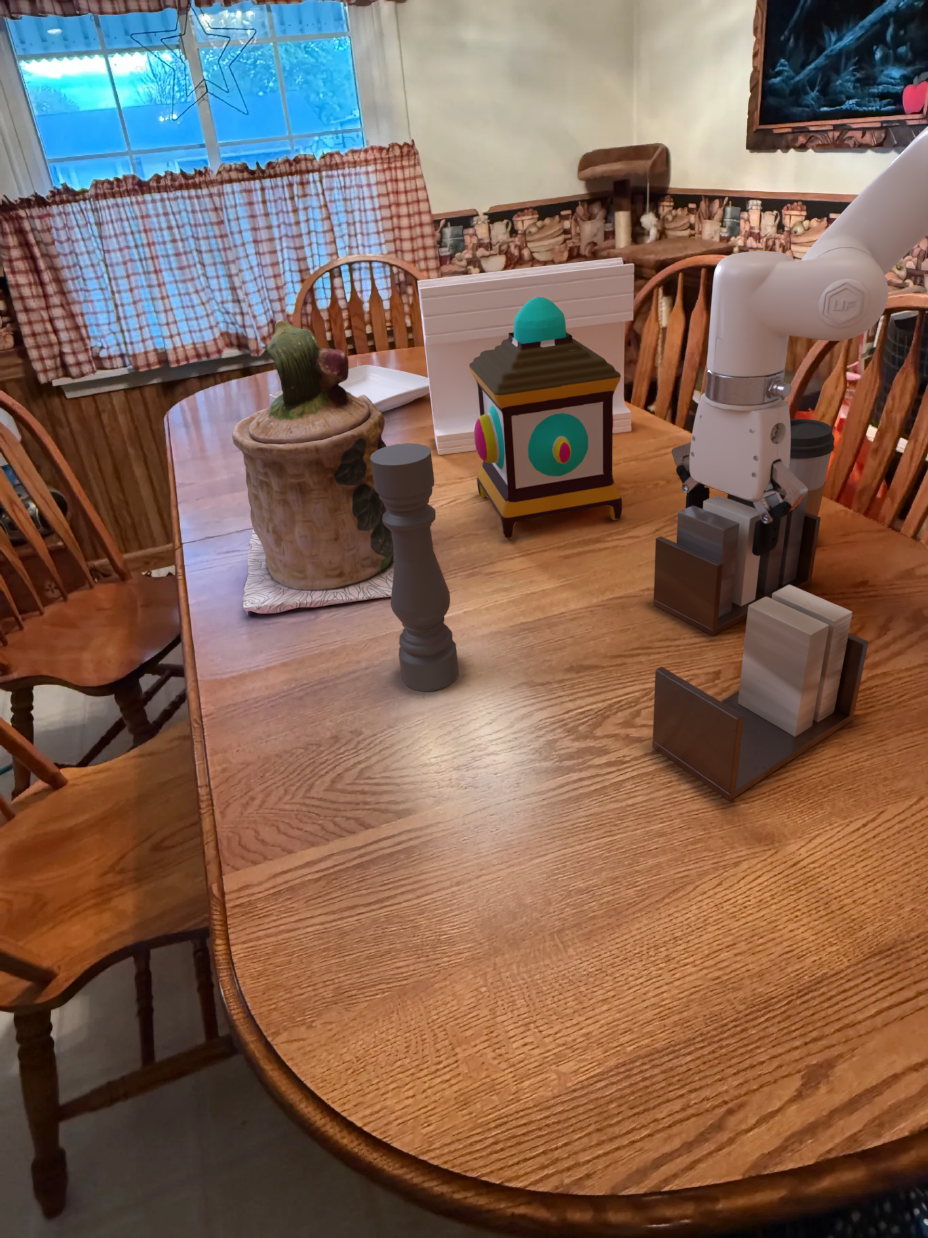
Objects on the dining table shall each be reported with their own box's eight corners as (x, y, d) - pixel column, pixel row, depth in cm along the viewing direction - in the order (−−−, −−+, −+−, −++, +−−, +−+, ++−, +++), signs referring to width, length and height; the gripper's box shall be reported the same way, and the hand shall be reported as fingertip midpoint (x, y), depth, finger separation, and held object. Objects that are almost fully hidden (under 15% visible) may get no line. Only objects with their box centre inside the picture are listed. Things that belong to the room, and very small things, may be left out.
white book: (711, 579, 99) (718, 494, 93) (755, 599, 94) (765, 511, 88) (697, 586, 98) (703, 500, 92) (741, 606, 93) (749, 518, 87)
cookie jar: (241, 623, 102) (169, 362, 85) (253, 539, 123) (197, 316, 106) (437, 592, 104) (405, 331, 87) (416, 515, 125) (387, 292, 108)
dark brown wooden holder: (749, 559, 104) (758, 471, 98) (810, 584, 97) (824, 492, 91) (653, 605, 97) (656, 513, 90) (712, 636, 90) (720, 539, 84)
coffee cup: (743, 546, 107) (754, 435, 99) (763, 521, 113) (775, 414, 105) (809, 558, 103) (826, 443, 95) (827, 531, 108) (844, 421, 100)
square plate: (270, 410, 179) (266, 392, 177) (369, 378, 194) (366, 362, 192) (341, 433, 161) (338, 413, 159) (444, 396, 176) (443, 378, 174)
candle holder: (453, 692, 85) (426, 465, 72) (396, 690, 87) (359, 467, 74) (463, 658, 91) (439, 441, 78) (409, 657, 92) (377, 443, 79)
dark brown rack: (773, 677, 83) (786, 574, 77) (853, 720, 76) (875, 612, 70) (651, 747, 76) (656, 640, 69) (729, 801, 69) (741, 689, 63)
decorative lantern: (497, 547, 113) (480, 321, 97) (467, 494, 130) (448, 294, 114) (635, 523, 116) (640, 299, 100) (588, 474, 132) (586, 275, 117)
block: (619, 417, 154) (620, 257, 140) (631, 431, 148) (634, 264, 133) (435, 440, 153) (417, 280, 138) (438, 454, 146) (420, 288, 131)
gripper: (842, 393, 79) (816, 552, 88) (704, 362, 91) (693, 504, 100) (791, 412, 75) (769, 575, 84) (655, 377, 88) (649, 522, 97)
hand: (728, 536), depth 92 cm, fingers open, 9 cm apart
